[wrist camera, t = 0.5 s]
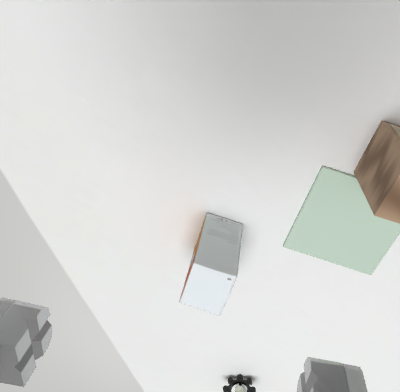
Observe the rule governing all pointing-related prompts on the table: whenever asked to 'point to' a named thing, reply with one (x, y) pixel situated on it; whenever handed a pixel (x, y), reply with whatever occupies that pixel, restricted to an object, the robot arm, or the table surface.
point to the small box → (213, 265)
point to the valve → (239, 389)
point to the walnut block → (382, 172)
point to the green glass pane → (341, 224)
